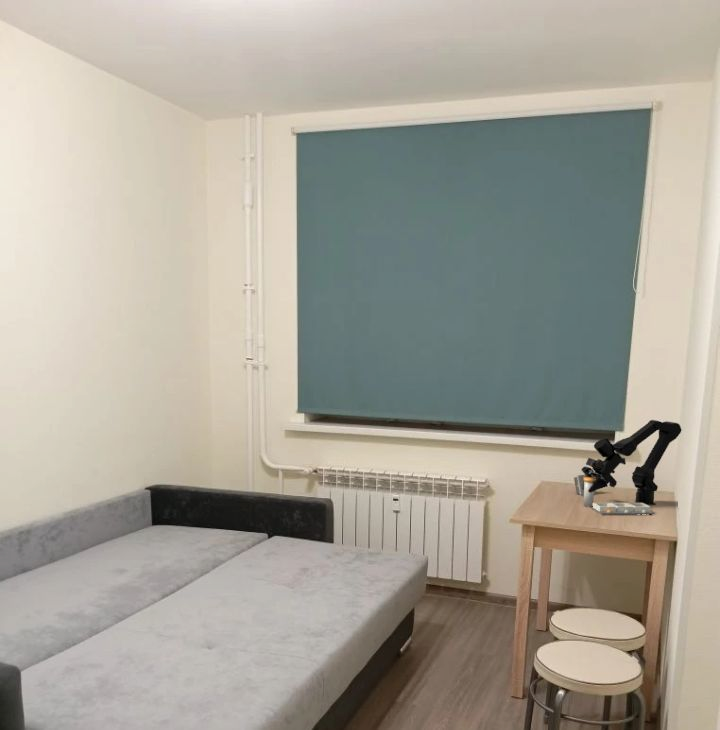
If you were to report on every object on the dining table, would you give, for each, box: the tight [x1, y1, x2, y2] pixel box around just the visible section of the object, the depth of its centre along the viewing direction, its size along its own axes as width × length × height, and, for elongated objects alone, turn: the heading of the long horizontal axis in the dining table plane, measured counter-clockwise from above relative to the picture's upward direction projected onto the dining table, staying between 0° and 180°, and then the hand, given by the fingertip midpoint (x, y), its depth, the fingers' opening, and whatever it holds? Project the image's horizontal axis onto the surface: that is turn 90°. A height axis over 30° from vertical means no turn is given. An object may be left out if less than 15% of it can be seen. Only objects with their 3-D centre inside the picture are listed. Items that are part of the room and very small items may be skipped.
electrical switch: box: [573, 474, 597, 496], centre depth 309 cm, size 9×5×9 cm, turn 116°
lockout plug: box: [583, 477, 595, 508], centre depth 285 cm, size 5×5×12 cm
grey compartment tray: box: [591, 502, 655, 516], centre depth 276 cm, size 22×10×3 cm, turn 95°
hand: (585, 490), depth 285 cm, fingers closed on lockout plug, 4 cm apart
